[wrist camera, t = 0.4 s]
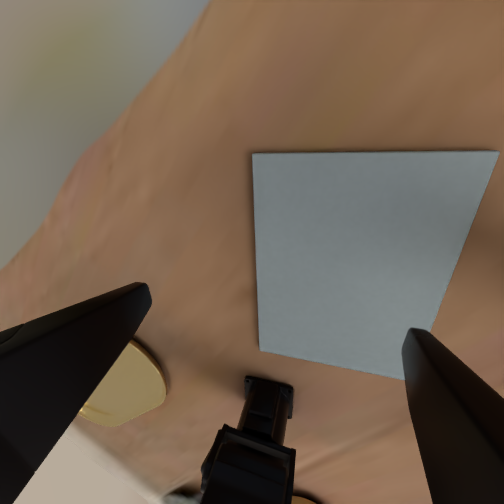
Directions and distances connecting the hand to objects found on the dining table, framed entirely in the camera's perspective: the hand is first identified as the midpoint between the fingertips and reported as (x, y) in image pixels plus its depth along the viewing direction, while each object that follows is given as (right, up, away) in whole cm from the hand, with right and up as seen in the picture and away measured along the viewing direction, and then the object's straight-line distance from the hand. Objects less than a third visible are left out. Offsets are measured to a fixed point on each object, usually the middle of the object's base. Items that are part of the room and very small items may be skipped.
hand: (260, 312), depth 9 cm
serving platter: (-27, -21, +37) cm, 51 cm away
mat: (+8, -1, +15) cm, 17 cm away
